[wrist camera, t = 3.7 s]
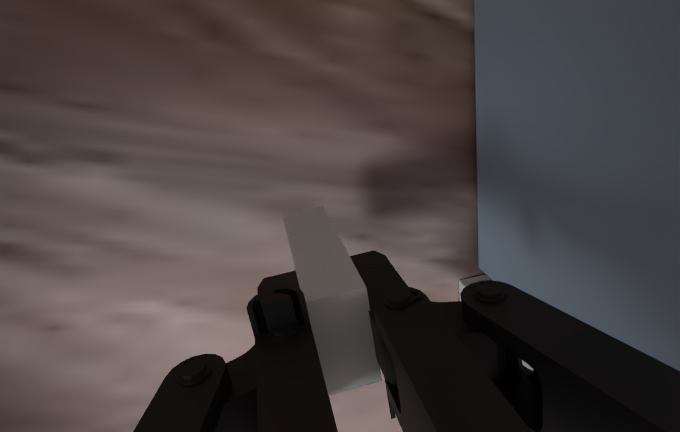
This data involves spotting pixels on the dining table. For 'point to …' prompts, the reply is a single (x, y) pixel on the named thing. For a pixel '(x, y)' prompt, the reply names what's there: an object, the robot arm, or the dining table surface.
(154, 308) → the dining table surface
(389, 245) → the dining table surface
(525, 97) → the door
